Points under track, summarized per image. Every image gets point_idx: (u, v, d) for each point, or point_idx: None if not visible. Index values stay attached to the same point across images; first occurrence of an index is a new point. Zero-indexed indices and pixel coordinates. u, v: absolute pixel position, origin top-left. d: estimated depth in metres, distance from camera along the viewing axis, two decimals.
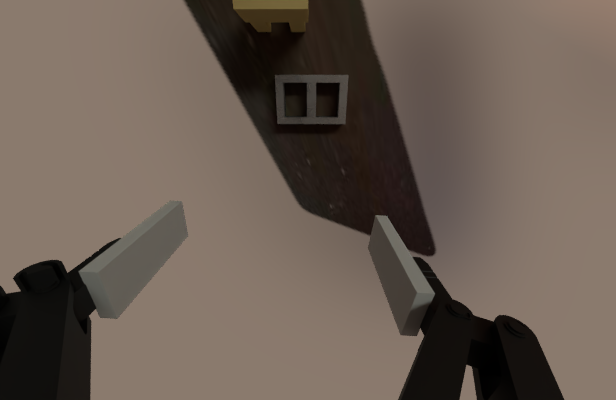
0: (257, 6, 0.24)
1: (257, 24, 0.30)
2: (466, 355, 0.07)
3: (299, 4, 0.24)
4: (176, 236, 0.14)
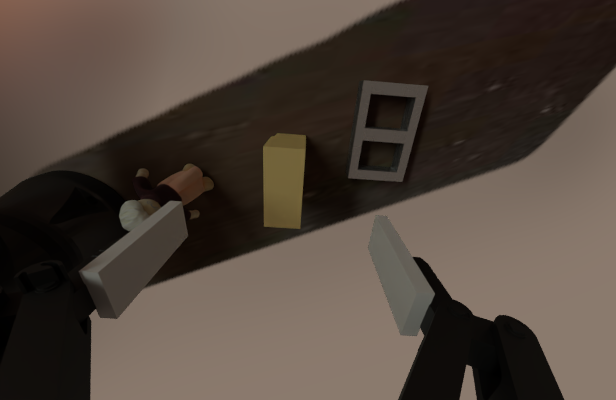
0: (298, 206, 0.22)
1: None
2: (466, 355, 0.07)
3: (300, 159, 0.20)
4: (176, 236, 0.14)
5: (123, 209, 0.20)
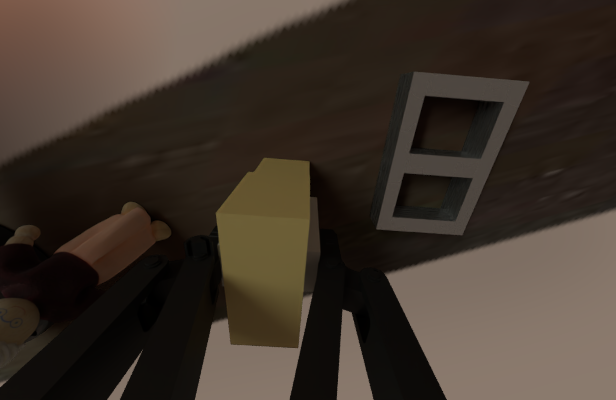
0: (295, 315, 0.11)
1: None
2: (342, 295, 0.09)
3: (298, 238, 0.09)
4: None
5: None
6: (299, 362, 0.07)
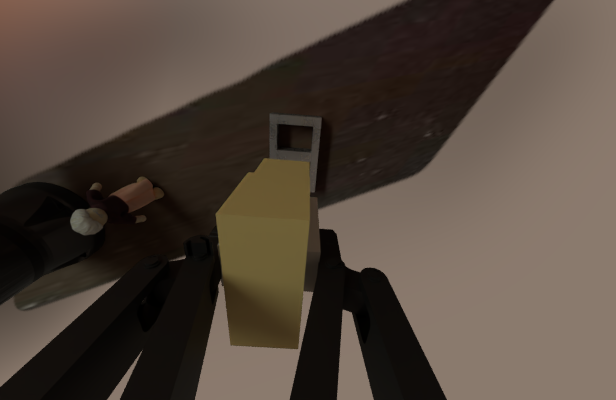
0: (295, 316, 0.11)
1: None
2: (342, 295, 0.09)
3: (298, 239, 0.09)
4: None
5: (72, 216, 0.26)
6: (299, 362, 0.07)
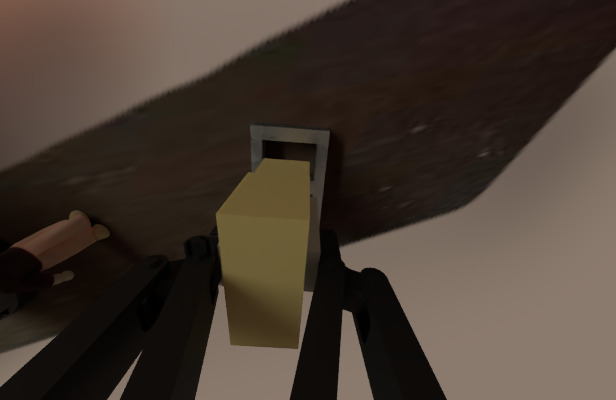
0: (295, 316, 0.11)
1: None
2: (342, 295, 0.09)
3: (298, 238, 0.09)
4: None
5: None
6: (299, 362, 0.07)
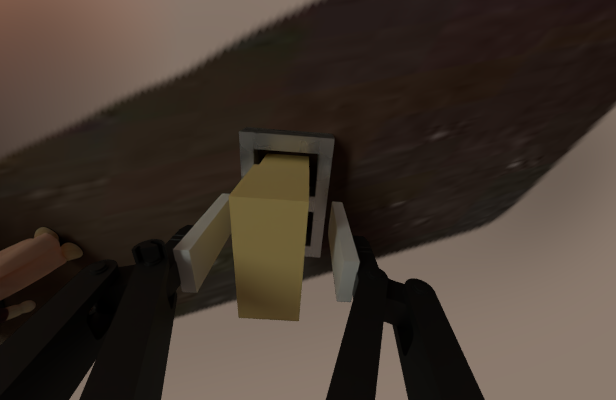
0: (296, 289, 0.12)
1: None
2: (383, 309, 0.09)
3: (299, 218, 0.11)
4: (228, 225, 0.16)
5: None
6: (335, 371, 0.07)
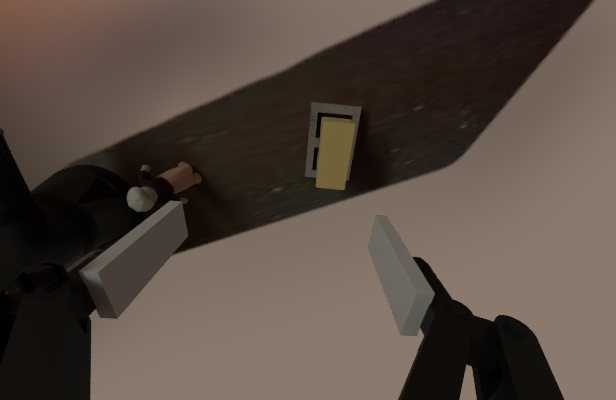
0: (345, 170, 0.27)
1: None
2: (466, 355, 0.07)
3: (350, 131, 0.25)
4: (176, 236, 0.14)
5: (129, 193, 0.28)
6: None
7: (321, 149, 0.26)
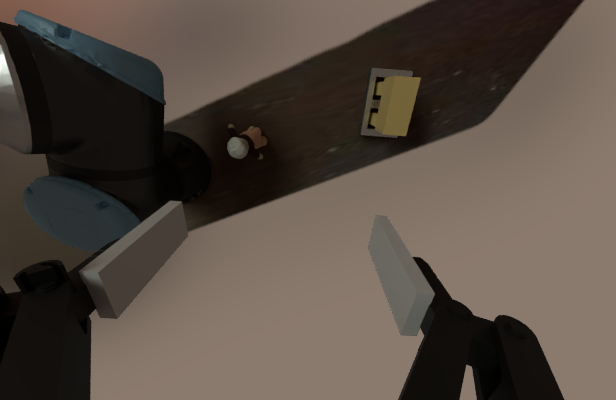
0: (408, 118, 0.34)
1: None
2: (466, 355, 0.07)
3: (416, 84, 0.32)
4: (176, 236, 0.14)
5: (232, 141, 0.34)
6: None
7: (391, 100, 0.33)
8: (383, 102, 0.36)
